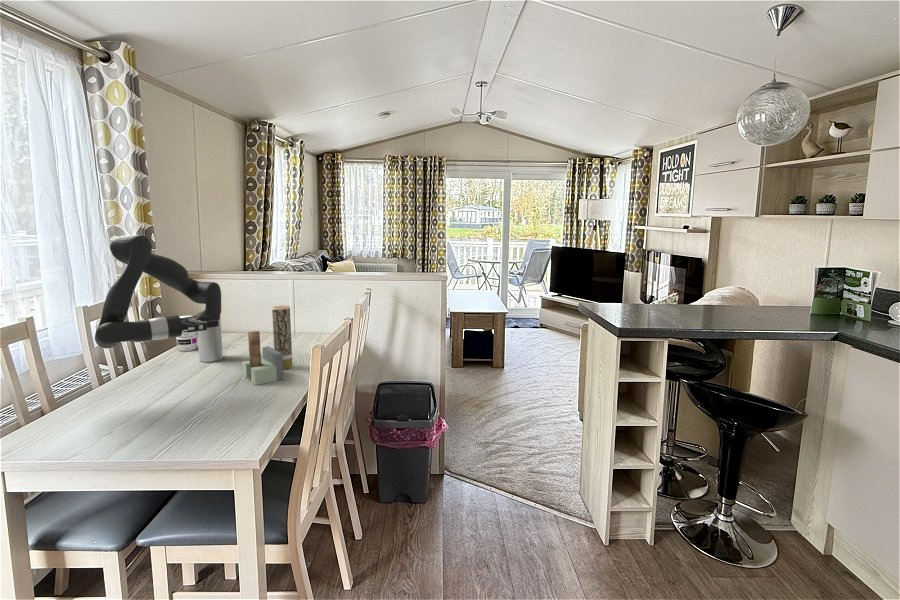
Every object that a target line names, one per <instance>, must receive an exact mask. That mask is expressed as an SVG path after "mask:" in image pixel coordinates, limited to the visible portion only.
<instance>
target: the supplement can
mask: <svg viewBox="0 0 900 600" xmlns="http://www.w3.org/2000/svg"><path fill="white" fill-rule="evenodd" d="M178 316H179V317H180V318H184V317H191V316H192V315H178ZM175 339H176V349H177V350H178V351H179V350H180V352H190V350H192V351H194V350H196V349H198V336H197V331H196V332H188V331H187V330H183V331H182V335H181V336H180V337H175Z"/></svg>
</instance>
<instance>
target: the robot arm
mask: <svg viewBox="0 0 900 600" xmlns="http://www.w3.org/2000/svg"><path fill="white" fill-rule="evenodd" d="M152 247H153V246H152V242H151V241H150V239H149V237H148V236H146V235H143V234H130V235H128V234H127V235H120V236H117V237H114V238H113V239H112V240H111V242H110V244H109V250H110V252H111V254H112V256H113V257H114V258H115V259H116V260H117V261H119V262H121V263H123V264H124V265H126V266H125V268H124V270H123V272H122V273H121V274H120V276H119V277H118V278H117V279H116V280H115V282H114V283H112V286H111V287H110V289H108V292H107V293H106V297H105V300H104V304H103V307H102V311H101V313H102V314H101V318H100V321H99V323H98V327H97V328H96V329H95V332H94V333H95V334H94V341H95V343H96V345H97V346H99V347H100V348H103V349H112V348H114V347H115V346H117V345H118V344H119V343H124V342H134V343H141V342H147V341H159V340H161V341H162V340H166V339H173V338H174V339H175V338H176V337H180V336H181V335H182V331H183V330H187V331H188V332H196V336H197V349H198V360H199V362H202V363H212V362H218V361H221V360H223V358H224V357H223V356H224V353H223V342H222V341H223V340H222V339H223V338H222V336H223V335H222V326H221V325H222V323H221V314H222V289H221V286H220V284H219V283H218V282H214V281H198V280H196V279H193V278H191V277H190V276H189V272H188V270H187V268H185V267H184V266H183V265H181V264H180V263H179V262H177V261H176V260H174V259H172V258H169V257H166V256H163V255H160V254H159V255H158V254H155V253H152V250H153V248H152ZM143 273H145V274H147V275H148V276H150V277H152V278H154V279H156V280H158V281H159V282H161V283H163V284H164V285H166V286H167V287H170V288H172V289H174V290H175V291H178V292H180V293H181V294H183V295H184V296H185V297H187V298H188V299H189V300H190V301H192V302H193V303H196V304H201V305H202V304H203V305H205V309H204V310H202V311H199V312H198V313H196V314H195V315H190V316H191V317H184V318H180V317H179V316H180V315H177V314H174V315H168V316H167V315H166V316H158V317H154V318H149V319H142V320H135V321H125V319H126V318H127V315H128V312H129V309H130V305H131V302H132V301H131V300H132V298H133V295H134V292H135V289H136V287H137V286H138V283H139V281H140V279H141V276H142V275H143Z"/></svg>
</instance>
